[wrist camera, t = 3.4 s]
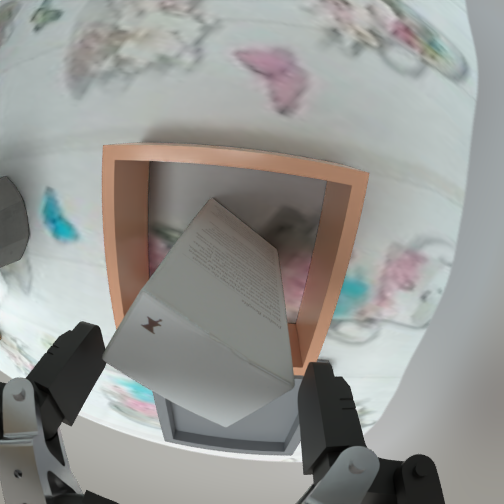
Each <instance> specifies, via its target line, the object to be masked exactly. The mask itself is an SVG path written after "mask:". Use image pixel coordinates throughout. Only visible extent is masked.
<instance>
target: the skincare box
mask: <svg viewBox="0 0 504 504" xmlns="http://www.w3.org/2000/svg"><path fill="white" fill-rule="evenodd" d="M102 359H103V360H104V361H105V362H106V363H108V364H109V365H111V366H112V367H114V368H115V369H117V370H119V371H120V372H122V373H123V374H125V375H127V376H128V377H130V378H132V379H133V380H135V381H137V382H138V383H140V384H141V385H143V386H145V387H147V388H148V389H150V390H152V391H154V392H155V393H157V394H159V395H160V396H162V397H164V398H166V399H168V400H169V401H171V402H173V403H175V404H177V405H179V406H181V407H183V408H185V409H187V410H189V411H191V412H193V413H195V414H197V415H199V416H201V417H204V418H206V419H208V420H210V421H212V422H215V423H217V424H219V425H221V426H223V427H228V426H230V425H232V424H234V423H235V422H237V421H239V420H241V419H243V418H244V417H246V416H248V415H249V414H251V413H253V412H255V411H256V410H258V409H260V408H261V407H263V406H265V405H266V404H268V403H270V402H271V401H273V400H275V399H276V398H278V397H280V396H281V395H283V394H285V393H287V392H288V391H290V390H292V389H293V388H294V386H295V381H294V372H293V365H292V356H291V348H290V341H289V332H288V324H287V316H286V308H285V300H284V293H283V285H282V278H281V271H280V263H279V256H278V251H277V249H276V248H275V247H273V246H272V245H271V244H270V243H268V242H267V241H266V240H265V239H263V238H262V237H261V236H260V235H258V234H257V233H256V232H255V231H253V230H252V229H251V228H250V227H248V226H247V225H246V224H245V223H243V222H242V221H241V220H239V219H238V218H237V217H236V216H235V215H233V214H232V213H231V212H229V211H228V210H227V209H226V208H224V207H223V206H222V205H221V204H219V203H218V202H217V201H215V200H214V199H213V198H211V199H210V200H209V201H208V202H207V203H206V204H205V205H204V207H203V208H202V209H201V210H200V212H199V213H198V214H197V215H196V217H195V218H194V219H193V221H192V222H191V223H190V224H189V226H188V227H187V228H186V230H185V231H184V232H183V233H182V235H181V236H180V237H179V239H178V240H177V242H176V243H175V244H174V246H173V247H172V248H171V250H170V251H169V252H168V254H167V255H166V257H165V258H164V259H163V261H162V262H161V264H160V265H159V266H158V268H157V269H156V271H155V272H154V274H153V275H152V276H151V277H150V279H149V280H148V281H147V283H146V284H145V285H144V287H143V288H142V289H141V290H140V292H139V294H138V295H137V297H136V299H135V300H134V302H133V304H132V305H131V307H130V308H129V310H128V312H127V313H126V315H125V317H124V318H123V320H122V322H121V323H120V325H119V327H118V328H117V330H116V332H115V333H114V335H113V337H112V339H111V340H110V342H109V344H108V346H107V347H106V349H105V351H104V353H103V356H102Z"/></svg>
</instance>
